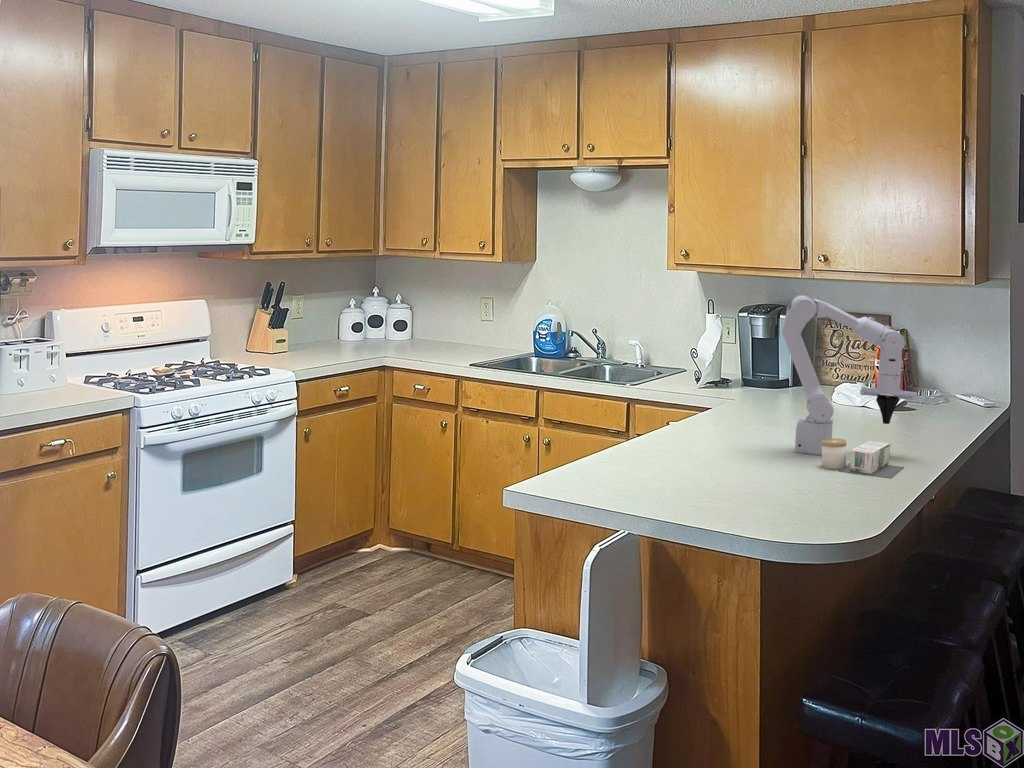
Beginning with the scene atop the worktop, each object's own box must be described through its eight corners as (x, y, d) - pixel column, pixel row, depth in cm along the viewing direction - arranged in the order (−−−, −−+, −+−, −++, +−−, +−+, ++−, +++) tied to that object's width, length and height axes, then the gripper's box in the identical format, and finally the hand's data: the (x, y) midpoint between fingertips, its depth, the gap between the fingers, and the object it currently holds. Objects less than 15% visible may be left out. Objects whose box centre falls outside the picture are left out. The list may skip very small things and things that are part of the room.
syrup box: (869, 439, 264) (849, 449, 253) (891, 443, 260) (872, 452, 249) (867, 460, 265) (848, 471, 254) (890, 464, 261) (871, 474, 250)
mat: (838, 472, 254) (838, 470, 254) (853, 461, 265) (853, 460, 265) (891, 479, 247) (891, 477, 246) (904, 468, 258) (904, 467, 258)
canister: (818, 468, 258) (818, 441, 257) (825, 463, 263) (825, 437, 262) (842, 470, 254) (842, 443, 254) (849, 465, 260) (849, 439, 259)
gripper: (921, 375, 269) (917, 424, 271) (866, 370, 277) (863, 418, 279) (914, 378, 263) (911, 428, 265) (859, 373, 271) (856, 421, 274)
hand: (886, 423), depth 272 cm, fingers closed
